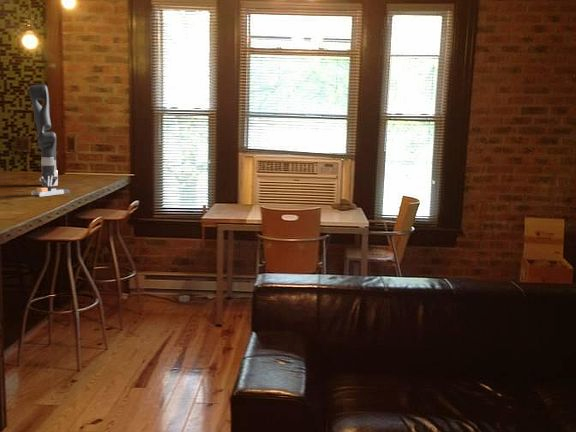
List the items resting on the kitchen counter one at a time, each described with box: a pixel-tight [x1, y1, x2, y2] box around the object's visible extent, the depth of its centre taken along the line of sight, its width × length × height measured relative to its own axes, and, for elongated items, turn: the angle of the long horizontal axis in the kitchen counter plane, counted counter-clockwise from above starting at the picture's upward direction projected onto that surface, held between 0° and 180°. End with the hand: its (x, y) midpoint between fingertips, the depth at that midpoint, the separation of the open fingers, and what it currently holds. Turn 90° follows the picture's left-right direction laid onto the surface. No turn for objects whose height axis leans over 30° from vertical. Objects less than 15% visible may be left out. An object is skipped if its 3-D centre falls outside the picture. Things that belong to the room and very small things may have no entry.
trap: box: [56, 188, 71, 195], centre depth 426 cm, size 5×8×2 cm, turn 59°
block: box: [36, 186, 48, 196], centre depth 412 cm, size 4×4×4 cm
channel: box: [31, 187, 64, 198], centre depth 416 cm, size 18×8×2 cm, turn 149°
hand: (48, 192), depth 416 cm, fingers closed
